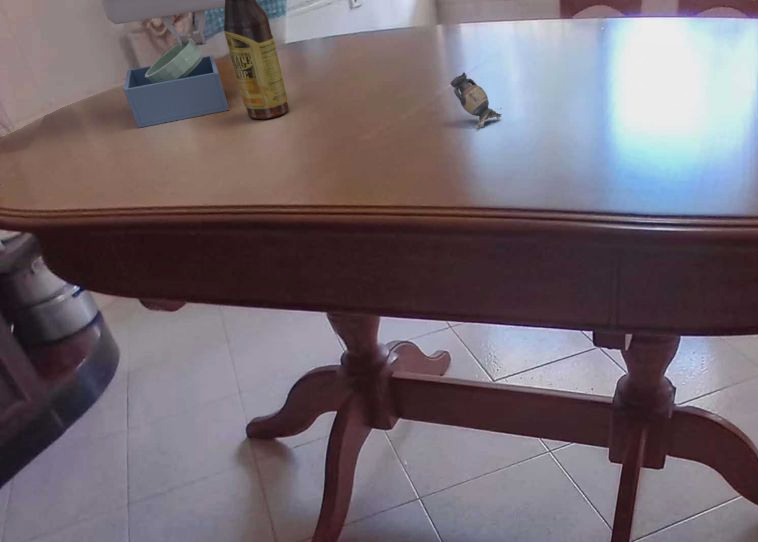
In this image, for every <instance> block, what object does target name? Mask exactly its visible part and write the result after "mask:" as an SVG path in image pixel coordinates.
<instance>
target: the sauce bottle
mask: <svg viewBox="0 0 758 542" xmlns="http://www.w3.org/2000/svg"><path fill="white" fill-rule="evenodd" d="M223 17H224V20H223V32H224V36H225V37H224V38H225V41H226V44H227V47H228V50H229V55H230V59H231V63H232V66H233V69H234V74H235V77H236V80H237V84H238V87H239V92H240V94H241V98H242V102H243V105H244V107H245V110H246V112H247V115H248V117H250V118H251V119H257V120H268V119H272V118H276V117H279V116H282V115H284V114H286V113H287V112H289V109H290V108H289V103H288V100H289V99H288V94H287V89H286V86H285V82H284V78H283V73H282V69H281V64H280V60H279V56H278V51H277V47H276V42H275V39H274V36H273V34H272V29H271V24H270V20H269V17H268V15H267V13H266V11H265V10H264V9H263V7H262V6H261V5H260V4H259V3H258V1H257V0H225V7H224V16H223Z"/></svg>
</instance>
